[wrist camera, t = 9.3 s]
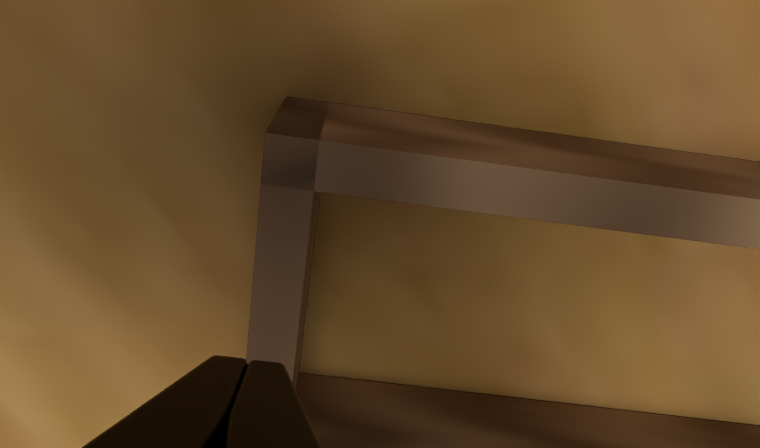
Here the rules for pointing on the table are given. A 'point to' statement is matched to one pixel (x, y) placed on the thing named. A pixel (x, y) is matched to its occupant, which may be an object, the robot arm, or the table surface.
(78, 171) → the table surface
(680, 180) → the brown rectangular frame
